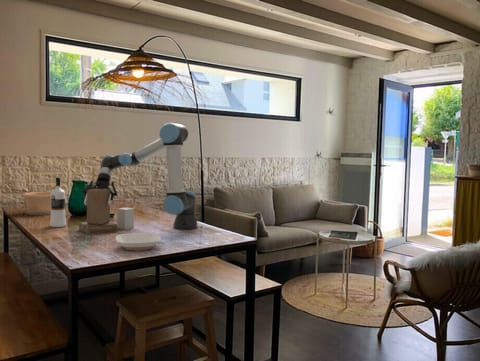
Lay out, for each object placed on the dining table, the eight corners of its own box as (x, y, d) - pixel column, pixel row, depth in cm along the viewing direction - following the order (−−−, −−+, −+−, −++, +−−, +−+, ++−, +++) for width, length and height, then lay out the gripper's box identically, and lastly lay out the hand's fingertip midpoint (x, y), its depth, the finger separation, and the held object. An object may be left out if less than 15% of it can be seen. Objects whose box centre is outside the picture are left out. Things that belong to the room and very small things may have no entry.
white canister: (133, 227, 257) (134, 208, 256) (125, 229, 251) (125, 209, 250) (126, 226, 260) (126, 207, 259) (117, 228, 254) (117, 208, 253)
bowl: (163, 252, 201) (163, 241, 200) (116, 254, 193) (116, 243, 193) (156, 242, 221) (156, 232, 221) (114, 244, 214) (114, 234, 213)
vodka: (69, 225, 256) (69, 177, 254) (56, 228, 248) (56, 178, 246) (59, 224, 261) (59, 176, 259) (46, 226, 253) (46, 177, 250)
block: (101, 225, 239) (102, 190, 237) (85, 224, 240) (86, 189, 239) (110, 222, 248) (110, 189, 247) (95, 221, 250) (95, 188, 249)
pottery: (42, 216, 285) (42, 196, 284) (16, 214, 291) (15, 194, 290) (63, 212, 306) (63, 193, 305) (39, 210, 312) (39, 191, 311)
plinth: (117, 232, 244) (117, 224, 244) (90, 235, 234) (90, 227, 233) (105, 228, 256) (105, 219, 256) (79, 230, 245) (79, 222, 245)
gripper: (126, 180, 258) (119, 208, 245) (85, 179, 257) (76, 207, 244) (124, 172, 253) (117, 200, 239) (82, 171, 252) (73, 199, 238)
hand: (97, 204), depth 241 cm, fingers open, 13 cm apart
